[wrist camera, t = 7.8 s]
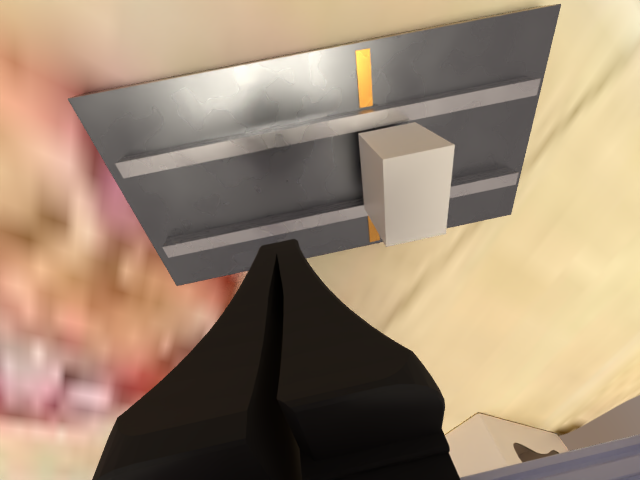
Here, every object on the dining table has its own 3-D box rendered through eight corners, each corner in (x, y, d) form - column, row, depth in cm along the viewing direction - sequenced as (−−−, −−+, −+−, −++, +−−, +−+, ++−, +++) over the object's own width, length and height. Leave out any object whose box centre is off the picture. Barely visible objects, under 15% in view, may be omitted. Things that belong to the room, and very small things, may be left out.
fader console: (497, 204, 23) (520, 221, 21) (181, 271, 22) (173, 296, 20) (538, 6, 16) (578, 2, 14) (83, 93, 15) (55, 102, 13)
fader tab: (406, 190, 19) (445, 234, 15) (359, 200, 19) (386, 246, 15) (406, 117, 16) (454, 144, 12) (353, 128, 16) (382, 159, 12)
